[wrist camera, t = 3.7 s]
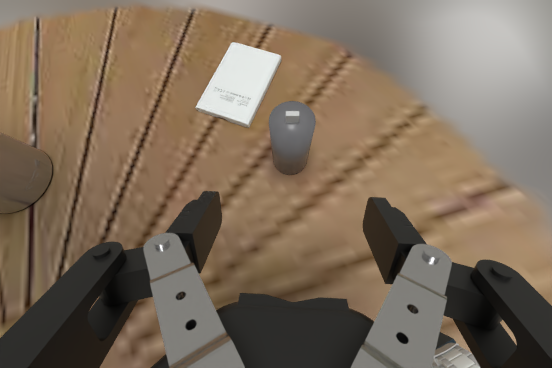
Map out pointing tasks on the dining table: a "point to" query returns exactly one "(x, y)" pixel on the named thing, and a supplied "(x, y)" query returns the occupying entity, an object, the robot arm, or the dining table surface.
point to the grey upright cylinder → (291, 136)
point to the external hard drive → (239, 84)
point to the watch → (452, 354)
